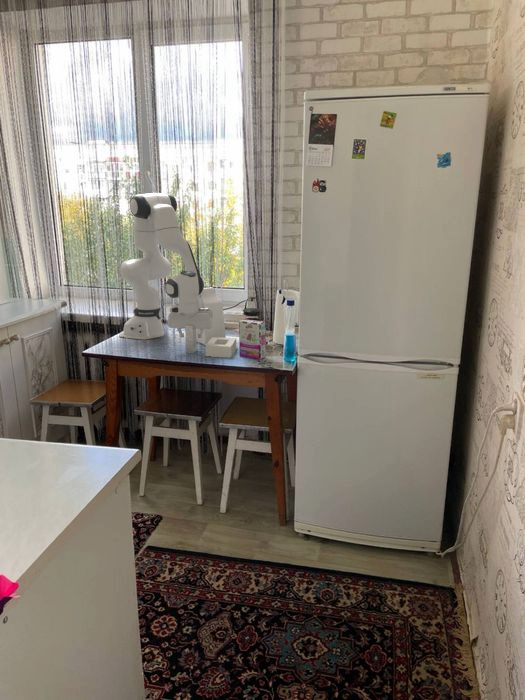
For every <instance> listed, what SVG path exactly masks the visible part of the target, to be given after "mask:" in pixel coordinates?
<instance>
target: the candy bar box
mask: <svg viewBox="0 0 525 700" xmlns="http://www.w3.org/2000/svg"><path fill="white" fill-rule="evenodd" d="M266 325H267V324H266V321H255V320H247V319H246V318H243V319H241V320H239V321H238V335H239V336H238V337H239V338H238V340H239V344H238V345H239V357H240V358H246V359H252V360H259V361H261V360H263V359H265V358H266V357H267V356H266V355H267V354H266V350H267V349H266V345H267V344H266V335H267V333H266Z"/></svg>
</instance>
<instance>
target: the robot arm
mask: <svg viewBox="0 0 525 700" xmlns="http://www.w3.org/2000/svg"><path fill="white" fill-rule="evenodd" d="M129 210H130V212H131V214H132V216H133V244H134V245H133V246H134V247H135V248H136V249H137V250H139V251H141V252H143V253H144V257H142V258H131V259H128V260H125V261H123V262H122V263H121V265H120V267H119V272H120V276H121V278H122V279H123V280H124V281H125V282H126V283H128V284H129V285H130V286H131V287H132V289H133V290H134V292H135V297H136V298H135V299H136V307H135V309H133V311H132V313H133V314H134V315H133V316H131V317H130V318H129V319H128V320H127V321H126V322H125V323H124V325H123V330H122V331H121V332H120V333H119V338H123V337H124V338H123V339H134V340H135V339H136V340H149V339H155V338H160V337H163V336H164V335H165V334H166V333H165V331H164V327H163V323H162V308H161V304H160V302H161V301H160V294H159V293H160V292H159V291H158V290H157V289H156V288H154V287H151V286H149V283H148V282H149V281H152V280H154V281H155V280H160V279H161V280H162V279H164V278H167V277H169V276H170V274H171V271H172V265H171V263H170V260H169V259H168V258H166V257H165V256H164V255H163V254H162V253H161V250H160V247H159V246H161V248H163V249H164V250H167V251H169V252H173V253H175V254H176V255H178V256H179V257H180V258H181V260H182V262H183V265H184V268H185V270H182V271H180V272H179V273H178V274H177V275H176V276H172V277H169V278H168V279H167V280H166V282H165V284H164V285H165V286H164V288H165V289H164V290H165V292H166V295H167V296H168V297H170V298H171V299H179V303H177V304H174V305H172V306H171V307H169V313H168V316H167V326H168V327H169V328H170V329H176V330H177V332H178V333H179V338H184V337H185V332H183V331H182V329H185V325H193V328H194V329H200V331H201V333H199V334H198V338H202V333H203V331H204V329H211V328H212V326H213V321H212V316H213V312H212V310H210V309H209V308H200V304H199V297H198V296H199V295H200V294H201V293H202V291H203V289H204V288H205V283H204V279H203V278H202V275H201V274H200V271H199V269H198V265H197V262H196V259H195V255H194V253H193V250H192V248H191V245H190V242H189V241H188V240H186V239H185V237H184V236H183V234H182V231H181V227H180V223H179V220H178V215H177V210H178V202H177V199H176V197H175V196H174V195H173V194H171V193H168V192H167V193H166V192H165V193H160V192H151V193H142V194H141V193H139V194H134V195H133V196H132V197H131V198H130V202H129ZM158 244H159V245H158ZM209 310H210V311H209Z"/></svg>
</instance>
